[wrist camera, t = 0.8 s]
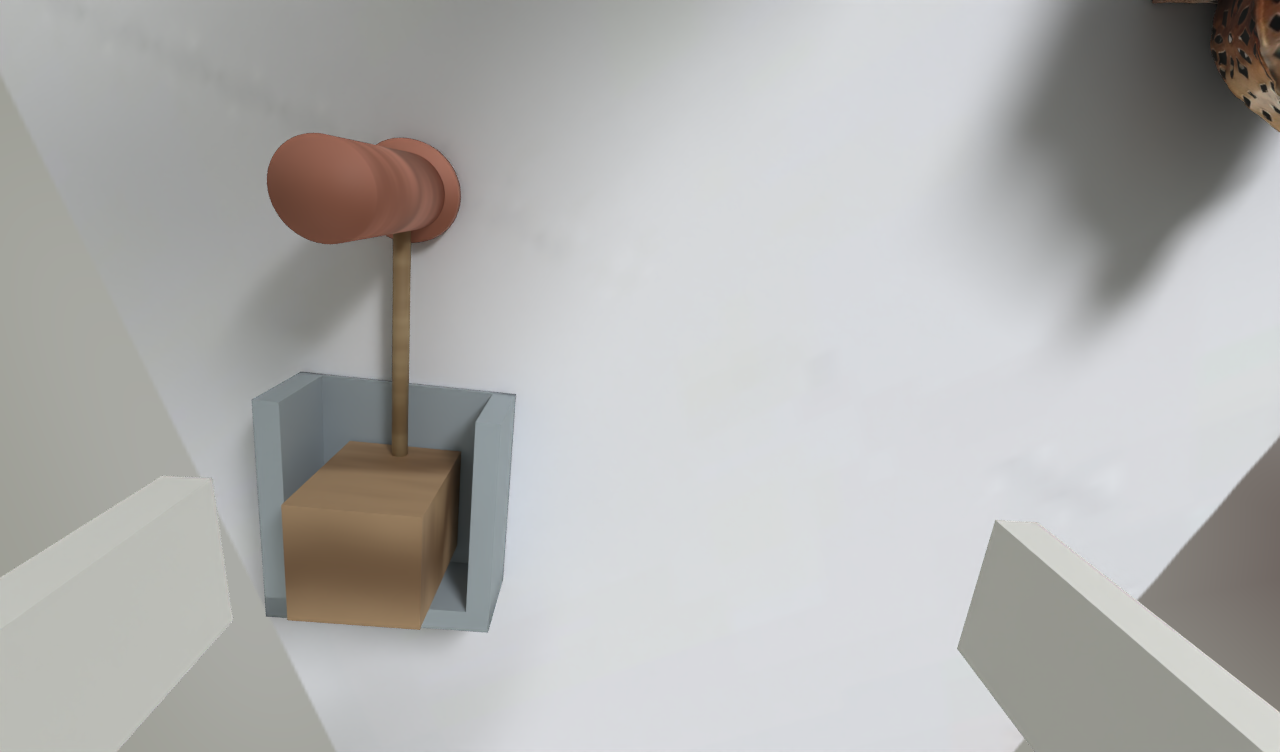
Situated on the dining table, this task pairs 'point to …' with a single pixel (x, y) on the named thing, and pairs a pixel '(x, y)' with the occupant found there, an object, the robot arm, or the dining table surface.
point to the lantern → (1248, 52)
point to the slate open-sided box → (362, 411)
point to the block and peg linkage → (381, 473)
